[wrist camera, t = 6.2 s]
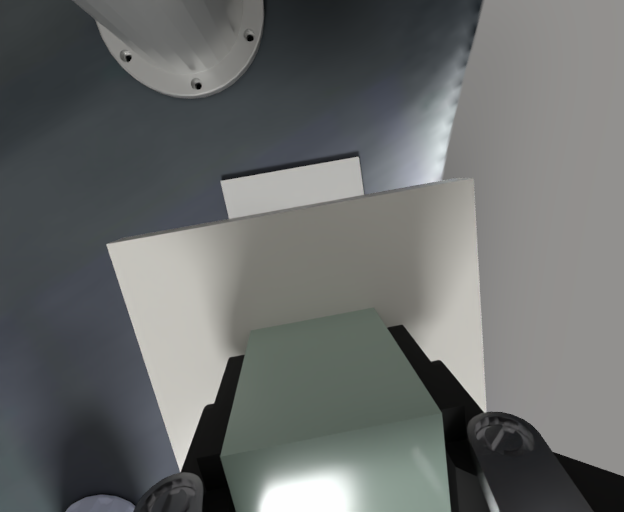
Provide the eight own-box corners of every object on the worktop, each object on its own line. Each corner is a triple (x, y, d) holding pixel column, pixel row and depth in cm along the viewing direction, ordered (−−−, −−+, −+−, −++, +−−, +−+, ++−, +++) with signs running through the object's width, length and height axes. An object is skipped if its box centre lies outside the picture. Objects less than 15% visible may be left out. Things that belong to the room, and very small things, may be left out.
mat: (221, 180, 29) (220, 181, 29) (357, 156, 30) (358, 156, 29) (259, 348, 33) (258, 350, 32) (381, 325, 33) (382, 327, 33)
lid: (122, 238, 11) (-68, 310, 5) (457, 178, 11) (641, 181, 5) (206, 506, 14) (143, 758, 8) (475, 452, 14) (612, 655, 8)
